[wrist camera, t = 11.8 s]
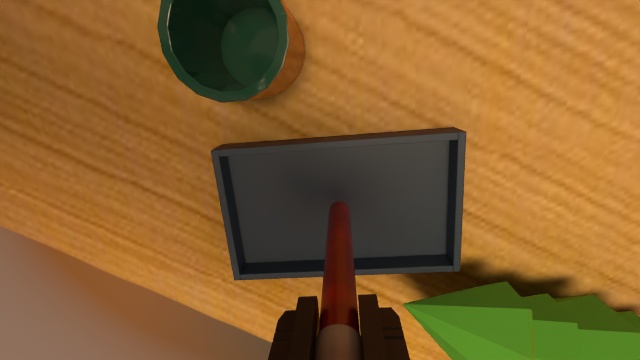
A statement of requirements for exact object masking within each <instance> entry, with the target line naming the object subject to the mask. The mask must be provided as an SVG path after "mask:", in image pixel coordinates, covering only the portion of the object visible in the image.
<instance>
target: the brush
mask: <svg viewBox="0 0 640 360" xmlns="http://www.w3.org/2000/svg"><path fill="white" fill-rule="evenodd" d="M314 360H363V349H362V338H361V336H360V332H359V319H358V307H357V294H356V282H355V269H354V257H353V244H352V232H351V219H350V209H349V206H348V205H347V204H346V203H345V202H342V201H337V202H334V203H333V204H332V205H331V206H330V208H329V217H328V229H327V241H326V253H325V265H324V276H323V288H322V300H321V312H320V324H319V334H318V335H317V337H316V341H315V351H314Z"/></svg>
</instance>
